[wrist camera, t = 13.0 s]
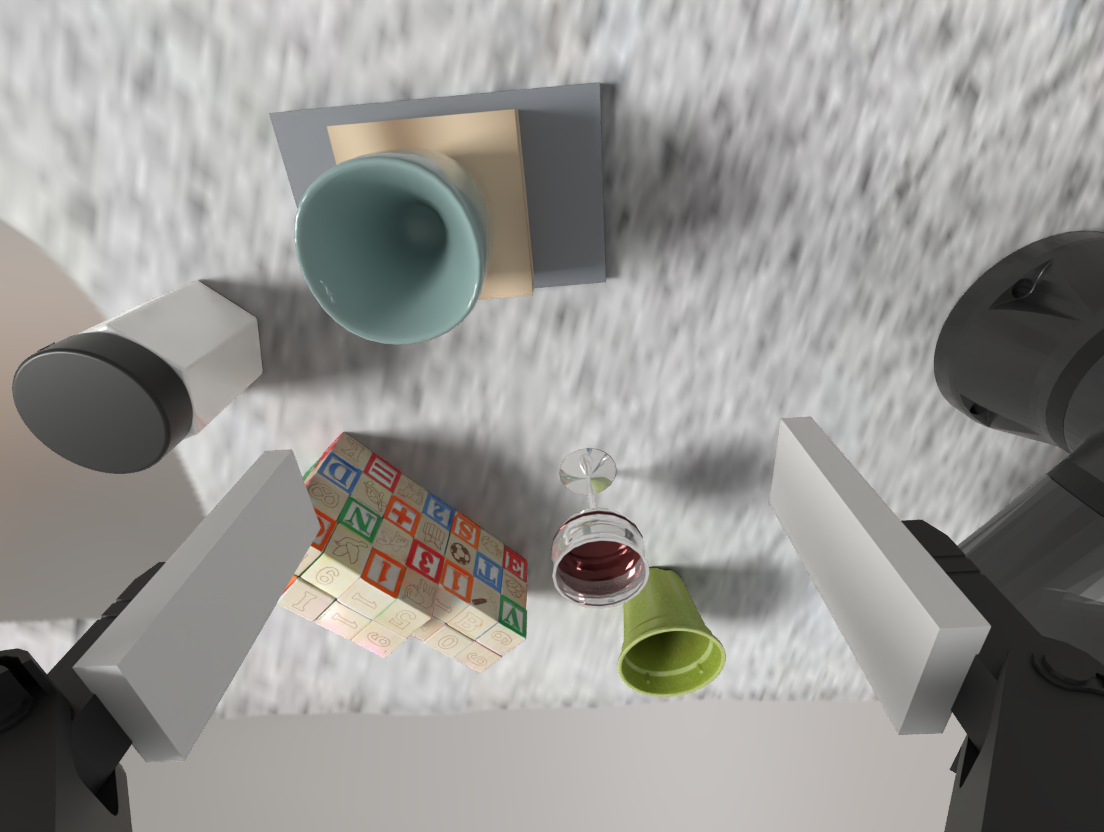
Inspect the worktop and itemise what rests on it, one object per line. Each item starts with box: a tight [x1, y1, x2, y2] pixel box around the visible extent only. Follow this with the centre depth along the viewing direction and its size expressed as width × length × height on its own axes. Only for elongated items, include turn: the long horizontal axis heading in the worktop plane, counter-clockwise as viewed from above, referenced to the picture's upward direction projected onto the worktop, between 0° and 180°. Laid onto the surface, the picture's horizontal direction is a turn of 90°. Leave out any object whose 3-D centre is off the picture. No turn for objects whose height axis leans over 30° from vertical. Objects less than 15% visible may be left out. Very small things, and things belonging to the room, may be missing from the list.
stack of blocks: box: [277, 432, 527, 673], centre depth 44 cm, size 21×6×12 cm, turn 46°
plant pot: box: [618, 568, 726, 697], centre depth 51 cm, size 9×9×9 cm
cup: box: [294, 147, 493, 345], centre depth 26 cm, size 8×8×10 cm
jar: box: [12, 281, 263, 474], centre depth 35 cm, size 9×8×12 cm
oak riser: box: [327, 109, 534, 300], centre depth 33 cm, size 10×10×5 cm
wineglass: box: [551, 449, 649, 608], centre depth 42 cm, size 7×7×12 cm
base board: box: [269, 83, 606, 288], centre depth 36 cm, size 20×12×1 cm, turn 95°
